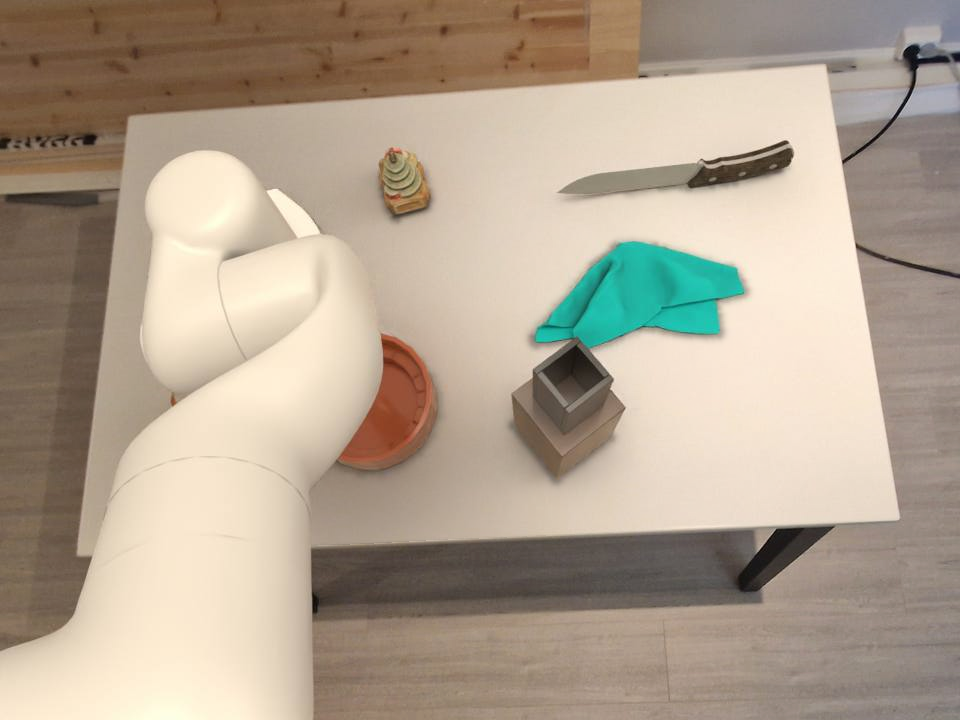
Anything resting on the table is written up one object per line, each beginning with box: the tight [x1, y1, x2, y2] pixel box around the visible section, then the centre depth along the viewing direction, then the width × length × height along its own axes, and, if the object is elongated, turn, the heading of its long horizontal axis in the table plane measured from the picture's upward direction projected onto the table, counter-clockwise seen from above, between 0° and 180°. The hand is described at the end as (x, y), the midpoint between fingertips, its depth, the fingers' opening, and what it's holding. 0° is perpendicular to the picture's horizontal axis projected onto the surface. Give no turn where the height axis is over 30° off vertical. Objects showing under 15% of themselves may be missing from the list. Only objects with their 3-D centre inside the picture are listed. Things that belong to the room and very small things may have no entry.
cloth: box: [534, 240, 745, 349], centre depth 86 cm, size 26×14×2 cm, turn 95°
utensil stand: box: [510, 337, 627, 479], centre depth 72 cm, size 8×8×23 cm
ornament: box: [378, 146, 431, 216], centre depth 89 cm, size 8×6×10 cm
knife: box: [556, 139, 795, 195], centre depth 89 cm, size 6×2×30 cm
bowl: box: [336, 332, 438, 471], centre depth 82 cm, size 15×15×6 cm
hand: (328, 350), depth 73 cm, fingers closed
